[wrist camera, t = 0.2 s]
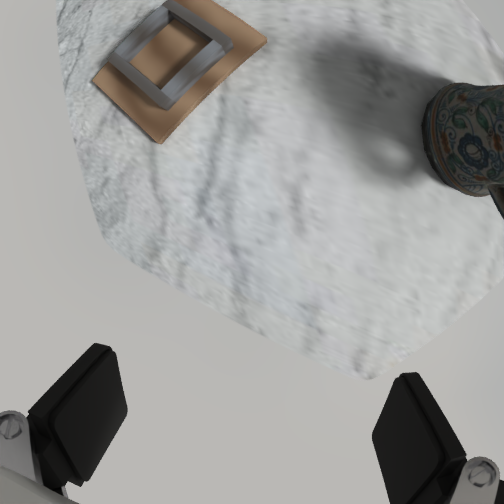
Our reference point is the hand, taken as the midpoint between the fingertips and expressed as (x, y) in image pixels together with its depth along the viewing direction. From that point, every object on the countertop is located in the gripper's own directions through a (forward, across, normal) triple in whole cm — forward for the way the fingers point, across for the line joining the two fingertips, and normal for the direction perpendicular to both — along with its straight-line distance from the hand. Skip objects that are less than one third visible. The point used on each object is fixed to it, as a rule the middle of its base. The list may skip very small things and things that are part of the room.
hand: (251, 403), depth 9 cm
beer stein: (+31, -28, -15) cm, 45 cm away
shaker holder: (+31, +15, -24) cm, 42 cm away
